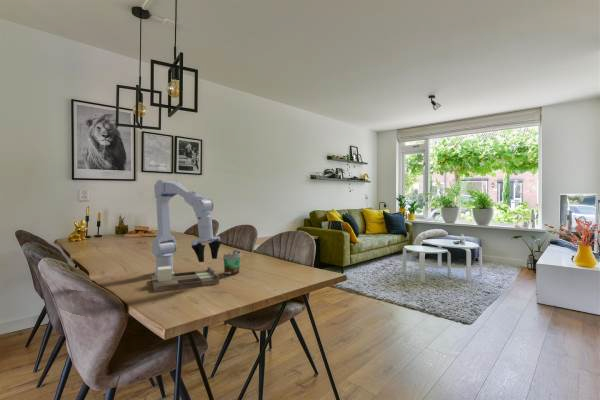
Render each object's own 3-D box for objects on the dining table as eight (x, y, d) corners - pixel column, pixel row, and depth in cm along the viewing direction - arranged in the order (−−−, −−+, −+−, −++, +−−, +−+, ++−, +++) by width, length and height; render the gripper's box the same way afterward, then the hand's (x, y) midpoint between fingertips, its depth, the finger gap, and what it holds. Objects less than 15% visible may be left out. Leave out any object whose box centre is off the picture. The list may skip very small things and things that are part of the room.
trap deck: (151, 280, 137) (151, 272, 137) (209, 273, 149) (209, 266, 149) (154, 292, 121) (154, 283, 121) (219, 283, 133) (219, 275, 133)
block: (157, 278, 132) (157, 267, 132) (170, 277, 134) (170, 265, 134) (158, 282, 128) (158, 269, 128) (171, 280, 130) (171, 268, 130)
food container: (235, 277, 144) (235, 255, 144) (223, 276, 145) (223, 254, 145) (245, 270, 156) (245, 250, 156) (233, 269, 157) (234, 249, 157)
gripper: (199, 228, 123) (202, 263, 122) (224, 225, 136) (227, 257, 135) (186, 229, 126) (189, 263, 126) (212, 226, 139) (214, 257, 138)
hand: (208, 260), depth 131 cm, fingers open, 7 cm apart
